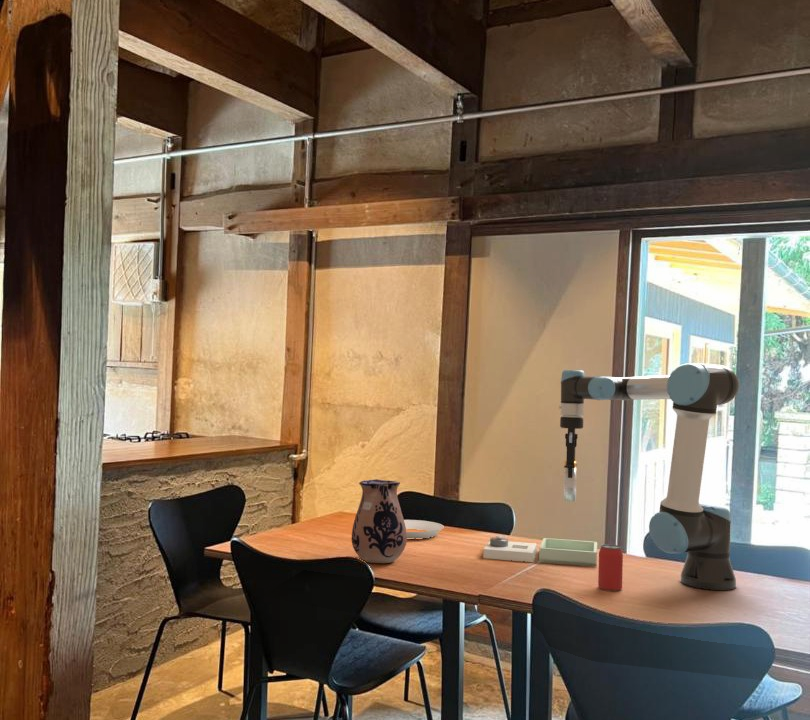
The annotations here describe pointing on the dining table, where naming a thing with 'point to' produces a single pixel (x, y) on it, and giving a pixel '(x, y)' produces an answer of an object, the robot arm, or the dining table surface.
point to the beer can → (610, 567)
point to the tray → (568, 552)
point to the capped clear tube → (570, 492)
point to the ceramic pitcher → (379, 523)
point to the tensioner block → (509, 550)
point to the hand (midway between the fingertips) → (570, 486)
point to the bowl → (422, 528)
